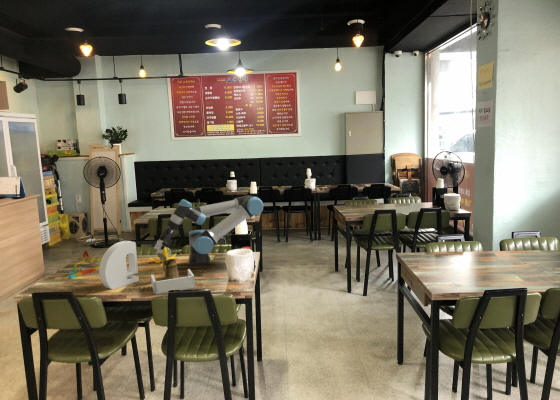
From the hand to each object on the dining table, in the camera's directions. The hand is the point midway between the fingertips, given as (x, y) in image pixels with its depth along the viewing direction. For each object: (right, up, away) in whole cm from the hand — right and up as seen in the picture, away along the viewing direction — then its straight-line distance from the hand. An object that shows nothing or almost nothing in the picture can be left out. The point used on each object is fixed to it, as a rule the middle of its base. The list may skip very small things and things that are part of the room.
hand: (157, 251), depth 267 cm
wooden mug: (+9, -16, -7) cm, 20 cm away
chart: (-48, -16, +15) cm, 53 cm away
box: (+16, -18, -22) cm, 33 cm away
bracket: (-18, -18, -14) cm, 29 cm away
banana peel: (-6, -12, +32) cm, 34 cm away
